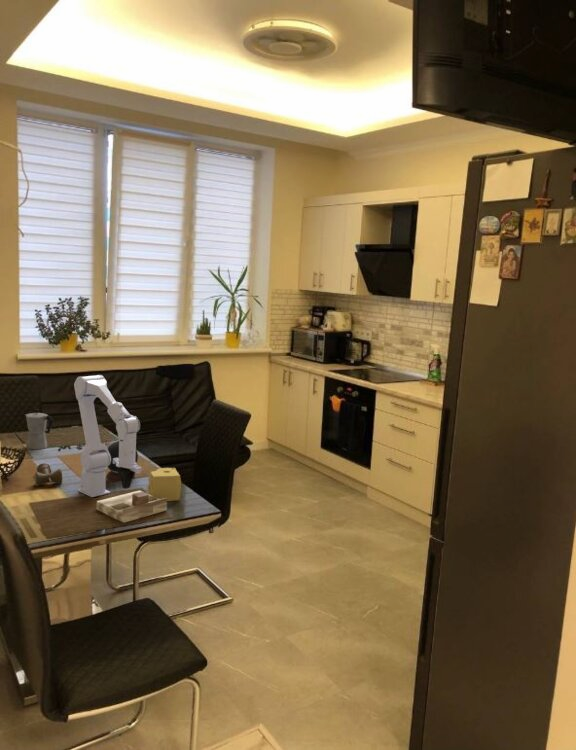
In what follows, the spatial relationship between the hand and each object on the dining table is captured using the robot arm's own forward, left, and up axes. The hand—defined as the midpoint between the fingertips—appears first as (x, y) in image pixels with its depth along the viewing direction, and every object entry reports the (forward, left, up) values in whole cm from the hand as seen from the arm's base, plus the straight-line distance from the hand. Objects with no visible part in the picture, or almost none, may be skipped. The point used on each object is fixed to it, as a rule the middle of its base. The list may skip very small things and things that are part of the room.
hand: (126, 487), depth 223 cm
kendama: (-40, -8, -7) cm, 42 cm away
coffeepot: (-87, +13, -7) cm, 88 cm away
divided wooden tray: (+5, -1, -7) cm, 8 cm away
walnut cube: (+10, -1, -4) cm, 11 cm away
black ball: (-28, +17, -7) cm, 33 cm away
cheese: (+2, +16, -7) cm, 17 cm away
